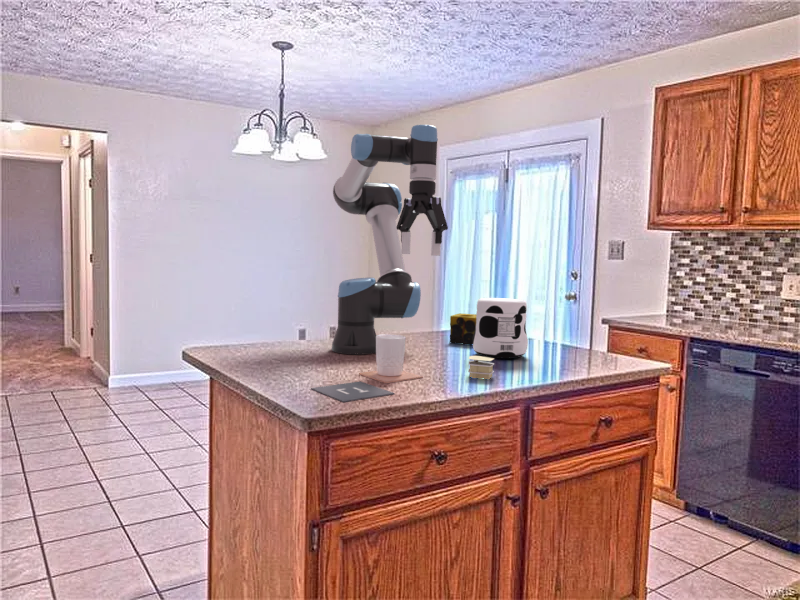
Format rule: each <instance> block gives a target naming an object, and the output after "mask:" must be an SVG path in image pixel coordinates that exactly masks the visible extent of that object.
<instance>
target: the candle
mask: <svg viewBox="0 0 800 600" xmlns="http://www.w3.org/2000/svg"><path fill="white" fill-rule="evenodd" d="M449 320H450V322H449V325H450V326H449V327H450V329H449V330H450V334H449V343H450V342H451V343H450V344H455V343H463V344H462V345H465V344H473V335H474V332H475V328H476V314H475V313H456V314H452V315H450V316H449Z"/></svg>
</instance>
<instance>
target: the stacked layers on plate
mask: <svg viewBox="0 0 800 600" xmlns="http://www.w3.org/2000/svg"><path fill="white" fill-rule="evenodd" d="M468 359H469V361H468V365H469V368H468V373H469V378H470V377H472V378H484V379H490V378H491V377H492V378H493V374H494V372H495V370H493V367H494V366H495V363H494V362H492V361H493V360H495V358H492V357H486V356H482V355H469V356H468ZM492 378H491V379H492ZM491 379H490V380H491Z"/></svg>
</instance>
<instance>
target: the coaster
mask: <svg viewBox="0 0 800 600" xmlns="http://www.w3.org/2000/svg"><path fill="white" fill-rule="evenodd" d="M358 375H359V376H363V377H366V378H369V379H371V380H375V381H377V382H381V383H384V384H390V383H397V382H403V381H411V380H417V379H423V377H424V376H422V375H419V374H416V373H412V372H409V371H404V370H402V375H399V376H382V375H379V374H377V370H372V371H365V372H364V371H362V372H358Z"/></svg>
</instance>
